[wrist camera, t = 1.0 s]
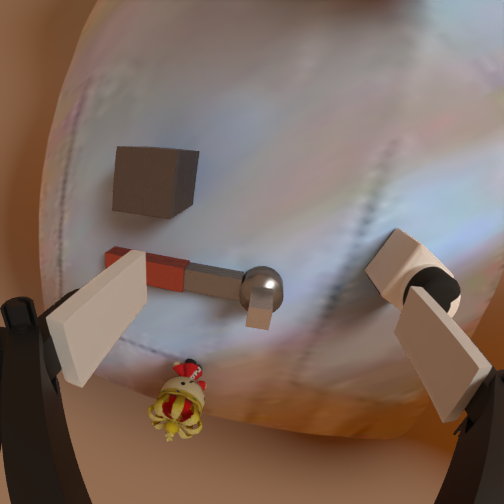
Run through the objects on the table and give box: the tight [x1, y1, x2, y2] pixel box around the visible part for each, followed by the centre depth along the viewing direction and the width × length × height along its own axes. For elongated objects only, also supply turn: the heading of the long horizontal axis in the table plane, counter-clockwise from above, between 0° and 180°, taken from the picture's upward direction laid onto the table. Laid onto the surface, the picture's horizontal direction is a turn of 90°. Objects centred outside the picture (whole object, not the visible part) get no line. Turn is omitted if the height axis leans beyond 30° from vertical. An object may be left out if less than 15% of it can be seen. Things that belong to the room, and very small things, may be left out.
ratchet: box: [105, 246, 283, 330], centre depth 33 cm, size 23×5×8 cm, turn 81°
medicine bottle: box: [365, 228, 461, 318], centre depth 28 cm, size 7×7×12 cm
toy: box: [147, 359, 207, 441], centre depth 35 cm, size 7×7×15 cm
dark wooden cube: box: [112, 146, 199, 219], centre depth 29 cm, size 6×6×8 cm
